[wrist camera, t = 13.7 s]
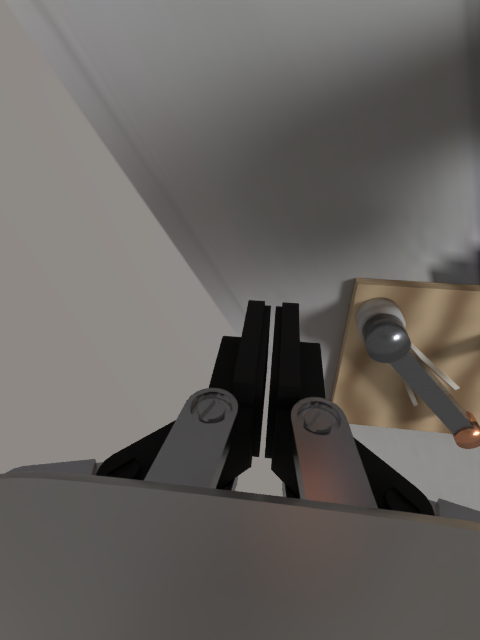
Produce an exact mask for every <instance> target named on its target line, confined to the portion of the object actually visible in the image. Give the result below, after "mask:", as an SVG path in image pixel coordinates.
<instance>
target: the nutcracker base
mask: <svg viewBox="0 0 480 640" xmlns="http://www.w3.org/2000/svg"><path fill="white" fill-rule="evenodd" d="M379 314H392V315H395V316H397V317H398V318H399V319H400V320H401V321H402V323H403V325H404V327H405V329H406V332H407V334H408V336H409V338H410V341H411V348H412V349H413V350H414V351H415V353H416V354H417V355H418V356H419V357H420V359H421V360H422V361H423V362H424V363H425V364H426V366H427V367H428V368H429V369H430V370H431V371H432V373H433V374H434V375H435V376H436V377H437V378H438V380H439V381H440V382H441V383H442V384H443V386H444V387H445V388H446V389H447V390H448V391H449V393H450V394H451V395H452V396H453V397H454V398H455V400H456V401H457V402H458V403H459V404H460V406H461V407H462V408H463V409H464V410H465V411H468V412H471V413H472V414H473V415H474V417H475V419H476V420H477V422H478V424H479V426H480V285H466V284H449V283H433V282H416V281H399V280H383V279H366V278H356V280H355V285H354V290H353V295H352V299H351V304H350V309H349V314H348V319H347V324H346V329H345V333H344V338H343V343H342V348H341V353H340V358H339V363H338V368H337V372H336V377H335V382H334V387H333V392H332V397H331V402H333V403H335V404H337V405H338V406H339V407H340V408H341V409H342V410H343V412H344V414H345V416H346V418H347V421H348V424H358V425H368V426H378V427H388V428H399V429H409V430H419V431H429V432H439V433H450V434H452V432H451V431H450V430H449V429H448V428H447V427H446V426H445V425H444V424H443V422H442V421H441V420H440V419H439V418H438V417H437V416H436V415H435V414H434V412H433V411H432V410H431V409H430V408H429V407H428V406H427V405H426V404H425V403H424V401H423V400H422V399H421V398H420V397H419V396H418V395H417V394H416V393H415V391H414V390H413V389H412V388H411V387H410V386H409V385H408V384H407V383H406V381H405V380H404V379H403V378H402V377H401V376H400V375H399V374H398V373H397V372H396V370H395V369H394V368H393V367H392V366H391V365H390V364H389V363H380V362H377V361H375V360H373V359H372V358H370V357H369V355H368V353H367V350H366V347H365V343H364V339H363V335H362V328H363V326H364V324H365V323H366V321H367V320H369V319H370V318H371V317H373V316H376V315H379Z"/></svg>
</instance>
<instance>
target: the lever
mask: <svg viewBox="0 0 480 640" xmlns="http://www.w3.org/2000/svg"><path fill="white" fill-rule="evenodd" d="M362 335H363V339H364V343H365V347H366V350H367V353H368V355H369V357H370V358H372V359H373V360H375V361H377V362H380V363H389V364H390V365H391V366H392V367H393V368H394V369H395V370H396V372H397V373H398V374H399V375H400V376H401V377H402V378H403V379H404V380H405V381H406V383H407V384H408V385H409V386H410V387H411V388H412V389H413V390H414V391H415V393H416V394H417V395H418V396H419V397H420V398H421V399H422V400H423V401H424V403H425V404H426V405H427V406H428V407H429V408H430V409H431V410H432V411H433V412H434V414H435V415H436V416H437V417H438V418H439V419H440V420H441V421H442V422H443V424H444V425H445V426H446V427H447V428H448V429H449V430H450V431H451V432H452V435H453V437H454V439H455V441H456V444H457V445H458V446H459V447H461V448H465V449H472V448H476V447H479V446H480V426H479V424H478V422H477V420H476V419H475V417H474V415H473V414H472V413H471V412H468V411H465V410H464V409H463V408H462V407H461V406H460V404H459V403H458V402H457V401H456V400H455V398H454V397H453V396H452V395H451V394H450V393H449V391H448V390H447V389H446V388H445V387H444V386H443V384H442V383H441V382H440V381H439V380H438V378H437V377H436V376H435V375H434V374H433V373H432V371H431V370H430V369H429V368H428V367H427V366H426V364H425V363H424V362H423V361H422V360H421V359H420V357H419V356H418V355H417V354H416V353H415V351H414V350H413V349H412V348H411V341H410V338H409V336H408V334H407V332H406V329H405V327H404V325H403V323H402V321H401V320H400V319H399V318H398V317H397V316H395V315H392V314H379V315H376V316H373V317H371V318H370V319H369V320H367V321H366V323H365V324H364V326H363V328H362Z"/></svg>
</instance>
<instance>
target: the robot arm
mask: <svg viewBox="0 0 480 640" xmlns="http://www.w3.org/2000/svg"><path fill="white" fill-rule="evenodd" d="M270 312H271V306H265V301H253V300H249V302H248V307H247V312H246V317H245V322H244V327H243V332H242V337H230V336H223V338H222V341H221V344H220V349H219V352H218V356H217V359H216V363H215V367H214V370H213V374H212V378H211V381H210V385H209V388H206V389H202V390H200V391H197V392H196V393H194V394H193V395H191V396H190V397H189V399H188V400H187V401H186V403H185V405H184V407H183V408H182V410H181V412H180V414H179V416H178V418H177V420H175V421H173V422H172V423H170V424H168V425H166V426H164V427H162V428H161V429H159V430H157V431H155V432H153V433H151V434H150V435H148V436H146V437H144V438H142V439H141V440H139V441H137V442H135V443H133V444H131V445H130V446H128V447H126V448H124V449H122V450H120V451H119V452H117V453H115V454H113V455H112V456H111V457H109V458H108V459H106V460H105V461H104V462H101V463H96V460H95V459H90V460H80V461H70V462H61V463H51V464H40V465H31V466H23V467H18V468H14V469H13V470H10V471H9V472H7V473H4V474H0V640H480V511H477V510H474V509H471V508H468V507H464V506H461V505H458V504H455V503H452V502H449V501H446V500H442V499H438V501H437V502H434V501H431V500H428V499H427V497H426V496H425V495H424V494H423V493H422V492H421V491H420V490H419V489H418V488H417V487H415V486H414V485H413V484H411V483H410V482H409V481H408V480H406V479H405V478H404V477H403V476H401V475H400V474H399V473H398V472H396V471H395V470H394V469H393V468H391V467H390V466H389V465H388V464H386V463H385V462H384V461H383V460H381V459H380V458H379V457H378V456H376V455H375V454H374V453H373V452H371V451H370V450H369V449H368V448H366V447H365V446H364V445H363V444H361V443H360V442H359V441H357V440H356V439H355V438H354V437H353V435H352V432H351V429H350V426H349V424H348V421H347V418H346V416H345V414H344V412H343V410H342V409H341V408H340V407H339V406H338V405H337V404H335V403H333V402H331V401H330V400H327V399H326V398H325V388H324V378H323V368H322V358H321V348H320V344H319V343H308V342H300V333H299V304H298V303H282V307H279V306H276V313H275V326H274V339H273V352H272V365H271V379H270V393H269V407H268V420H267V434H266V448H265V458H272V464H271V470H272V471H273V472H274V473H275V474H276V475H277V476H278V477H279V478H280V479H281V480H282V481H283V484H282V486H283V487H282V490H283V497H280V496H271V495H262V494H254V493H246V492H238V491H235V488H236V485H237V480H238V475H240V474H241V473H243V472H244V471H245V470H247V469H248V468H250V467H251V462H252V456H254V457H259V452H260V441H261V430H262V419H263V407H264V396H265V385H266V374H267V360H268V344H269V328H270Z"/></svg>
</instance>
